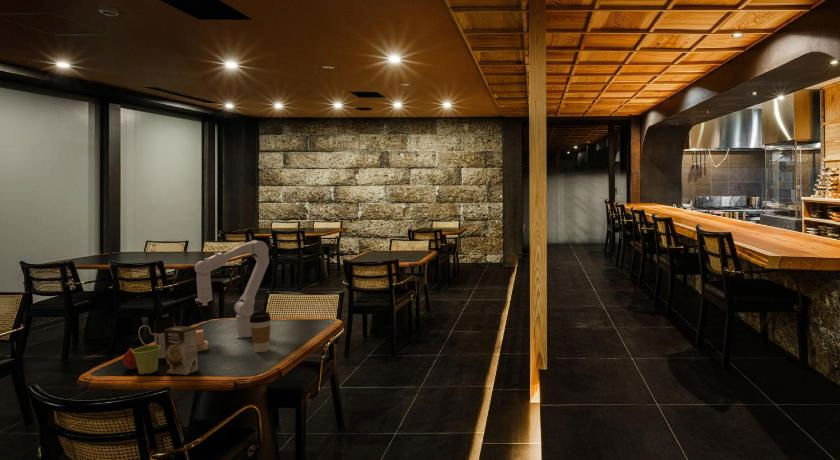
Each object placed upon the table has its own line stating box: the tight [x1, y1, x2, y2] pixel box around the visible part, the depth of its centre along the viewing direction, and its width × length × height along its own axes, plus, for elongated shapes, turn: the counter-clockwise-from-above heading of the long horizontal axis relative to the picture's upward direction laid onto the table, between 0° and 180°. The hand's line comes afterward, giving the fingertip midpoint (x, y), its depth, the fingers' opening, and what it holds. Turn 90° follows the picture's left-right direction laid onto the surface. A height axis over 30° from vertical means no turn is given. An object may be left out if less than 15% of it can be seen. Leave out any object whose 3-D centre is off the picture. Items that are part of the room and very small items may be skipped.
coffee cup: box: [249, 311, 272, 353], centre depth 219 cm, size 8×8×15 cm
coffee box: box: [164, 325, 199, 376], centre depth 195 cm, size 9×6×16 cm
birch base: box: [197, 339, 209, 352], centre depth 225 cm, size 6×6×3 cm
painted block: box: [196, 329, 205, 344], centre depth 225 cm, size 4×4×5 cm
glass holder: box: [137, 316, 176, 359], centre depth 216 cm, size 9×14×15 cm, turn 135°
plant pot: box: [132, 344, 161, 375], centre depth 196 cm, size 9×9×9 cm
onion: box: [122, 347, 137, 370], centre depth 201 cm, size 6×6×8 cm
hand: (206, 319), depth 235 cm, fingers open, 7 cm apart
